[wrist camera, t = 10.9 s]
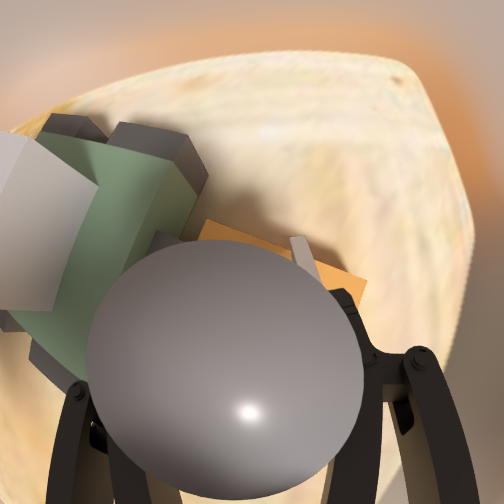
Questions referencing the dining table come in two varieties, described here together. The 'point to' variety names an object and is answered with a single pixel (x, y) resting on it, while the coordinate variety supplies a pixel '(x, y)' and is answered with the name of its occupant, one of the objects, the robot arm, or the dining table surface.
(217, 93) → the dining table surface
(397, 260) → the dining table surface
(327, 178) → the dining table surface
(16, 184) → the green corner-block plate
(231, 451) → the grey flared cylinder
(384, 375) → the robot arm
